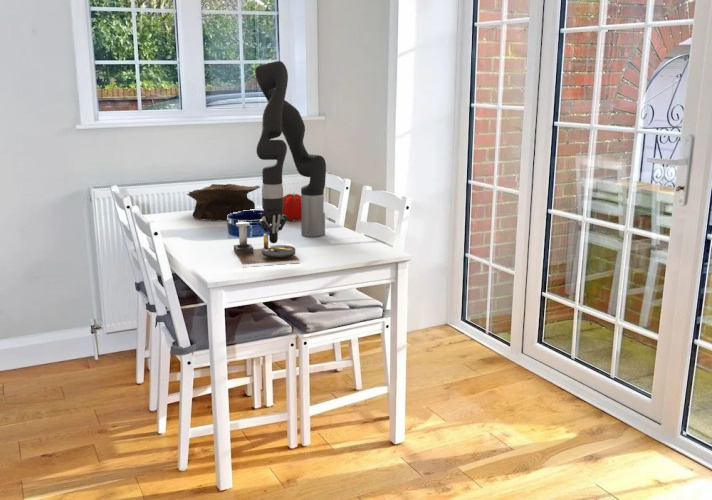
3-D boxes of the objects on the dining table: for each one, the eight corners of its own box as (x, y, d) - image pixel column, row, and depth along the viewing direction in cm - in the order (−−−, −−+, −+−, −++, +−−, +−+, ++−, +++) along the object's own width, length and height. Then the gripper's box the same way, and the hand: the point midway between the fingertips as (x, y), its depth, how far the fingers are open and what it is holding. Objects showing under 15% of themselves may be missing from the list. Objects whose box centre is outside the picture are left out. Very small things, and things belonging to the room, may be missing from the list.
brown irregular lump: (177, 224, 319) (173, 191, 316) (203, 214, 351) (200, 183, 348) (251, 221, 313) (248, 187, 311) (270, 210, 346) (268, 179, 343)
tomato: (280, 216, 330) (280, 191, 327) (310, 217, 328) (310, 192, 325) (273, 222, 317) (273, 196, 314) (304, 223, 315) (304, 197, 312)
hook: (249, 250, 263) (248, 221, 260) (250, 252, 260) (250, 223, 257) (236, 251, 261) (235, 222, 259) (237, 253, 259) (236, 224, 256)
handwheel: (270, 247, 262) (270, 230, 260) (300, 250, 258) (300, 233, 257) (256, 255, 251) (255, 237, 249) (287, 258, 247) (286, 240, 246)
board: (287, 249, 270) (287, 241, 269) (299, 263, 251) (299, 254, 250) (233, 253, 263) (233, 244, 262) (242, 267, 245) (242, 258, 244)
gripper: (279, 192, 261) (279, 237, 265) (251, 196, 251) (252, 244, 255) (293, 194, 256) (293, 241, 260) (265, 199, 246) (266, 247, 251)
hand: (273, 242), depth 258 cm, fingers closed
